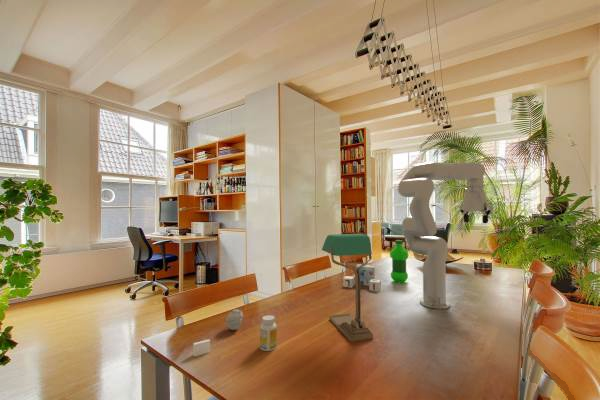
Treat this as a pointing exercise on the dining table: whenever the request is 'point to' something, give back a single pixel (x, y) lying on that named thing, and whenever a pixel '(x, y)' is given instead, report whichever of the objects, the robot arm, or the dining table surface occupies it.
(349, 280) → the numbered block 7
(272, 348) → the supplement bottle
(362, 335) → the banker's lamp
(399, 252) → the plastic bottle
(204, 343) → the eraser
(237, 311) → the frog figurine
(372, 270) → the light bulb box
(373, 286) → the numbered block 1
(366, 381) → the dining table surface
